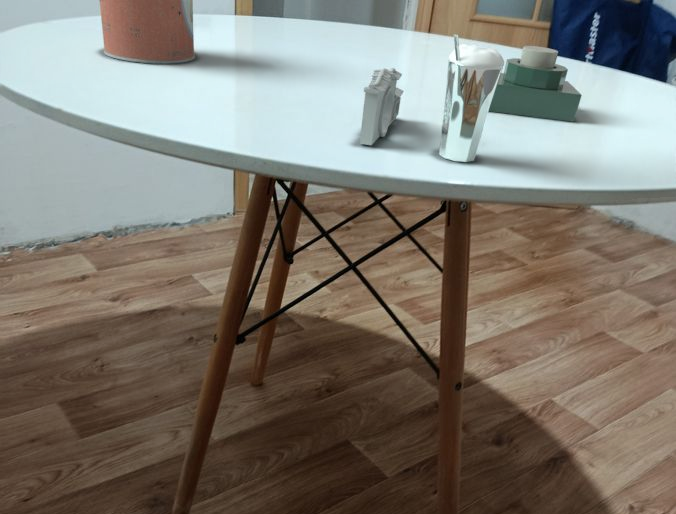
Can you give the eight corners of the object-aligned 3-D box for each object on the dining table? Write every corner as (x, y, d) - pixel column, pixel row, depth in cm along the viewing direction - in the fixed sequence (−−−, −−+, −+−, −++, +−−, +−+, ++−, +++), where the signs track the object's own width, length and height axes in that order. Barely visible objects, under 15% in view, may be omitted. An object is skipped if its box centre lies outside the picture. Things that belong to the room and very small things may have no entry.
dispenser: (560, 106, 80) (572, 63, 77) (573, 121, 74) (587, 76, 71) (482, 96, 81) (491, 53, 78) (487, 111, 74) (498, 64, 71)
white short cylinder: (550, 67, 76) (555, 48, 75) (556, 73, 73) (561, 53, 72) (516, 63, 76) (521, 44, 75) (521, 68, 73) (526, 49, 72)
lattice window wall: (383, 116, 67) (391, 55, 64) (400, 119, 67) (409, 58, 63) (355, 145, 57) (363, 75, 54) (374, 148, 57) (384, 78, 53)
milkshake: (415, 152, 57) (435, 29, 51) (455, 146, 60) (479, 29, 54) (451, 168, 54) (477, 39, 49) (492, 161, 57) (521, 39, 51)
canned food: (193, 66, 78) (190, -48, 72) (97, 59, 76) (84, -59, 70) (196, 50, 87) (193, -53, 81) (110, 43, 85) (100, -63, 79)
